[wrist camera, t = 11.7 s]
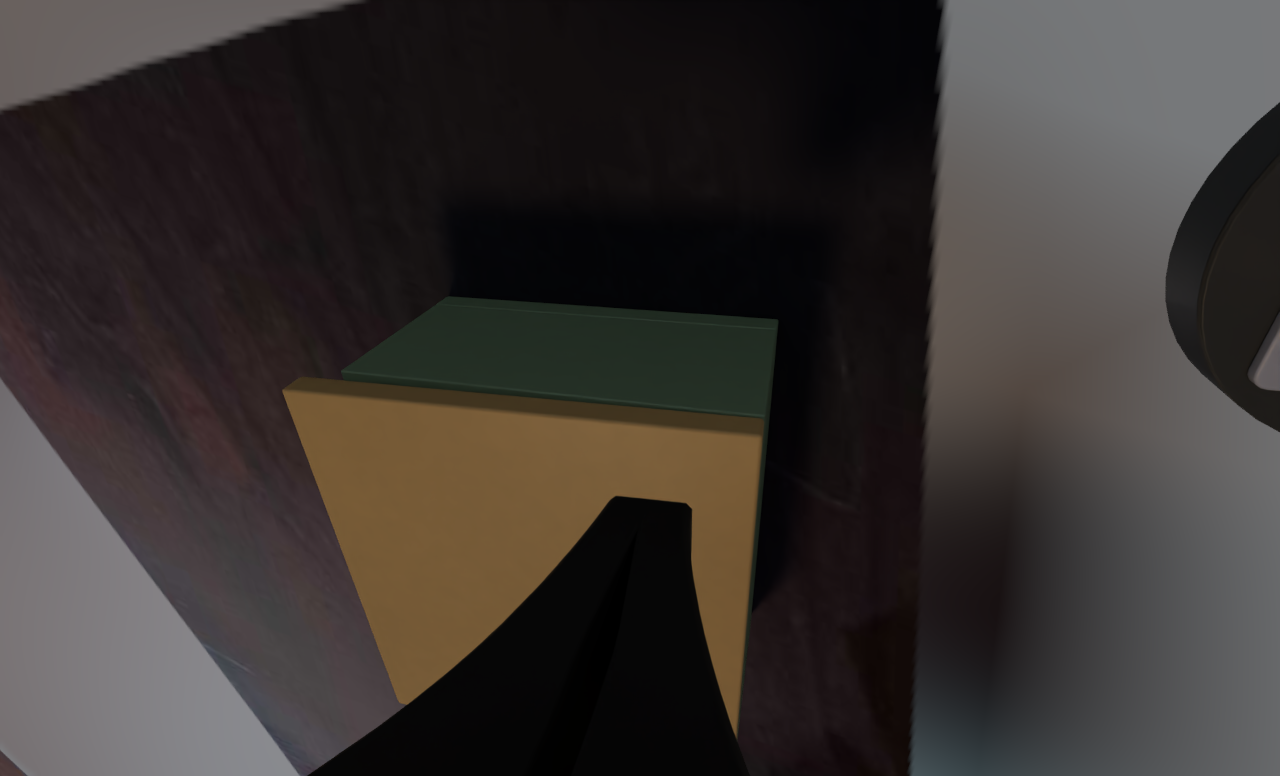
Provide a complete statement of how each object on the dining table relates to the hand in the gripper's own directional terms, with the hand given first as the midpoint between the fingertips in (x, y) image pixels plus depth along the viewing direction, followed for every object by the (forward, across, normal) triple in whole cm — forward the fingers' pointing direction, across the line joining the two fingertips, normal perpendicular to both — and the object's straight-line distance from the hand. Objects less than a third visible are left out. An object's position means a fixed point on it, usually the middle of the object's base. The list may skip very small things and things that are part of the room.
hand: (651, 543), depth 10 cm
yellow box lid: (+5, +4, +7) cm, 9 cm away
